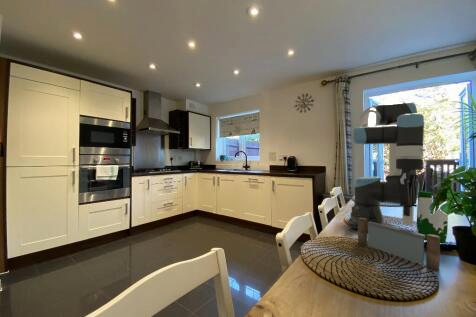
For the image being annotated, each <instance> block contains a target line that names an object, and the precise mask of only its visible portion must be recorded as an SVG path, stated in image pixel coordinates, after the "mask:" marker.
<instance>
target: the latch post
mask: <svg viewBox="0 0 476 317" xmlns="http://www.w3.org/2000/svg"><path fill="white" fill-rule="evenodd" d="M425 254H426V255H425V258H426V259H425V261H426V262H425V264H426V265H425V267H426V269H428V270H430V271H434V272H440V265H441V263H440V262H441V261H440V260H441V259H440V258H441V257H440V256H441V247H440V237H439V236H437V235H432V234H427V244H426V253H425Z"/></svg>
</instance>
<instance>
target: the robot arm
mask: <svg viewBox="0 0 476 317" xmlns="http://www.w3.org/2000/svg"><path fill="white" fill-rule="evenodd" d="M417 109H418V108H417V106H416V104H415V102H413V101H400V102H390V103H378V104H375V105H373V106H370V107H367V109H365V110H364V111H362V113H361V115H360V116H359V122H360V125H359V126H356V127H354V128H353V130H352V137H353V138H352V140H353V144H355V145H387V144H388V146H389V147H388V149H389V152H388V153H389V155H388V156H389V157H388V158H389V159H388V163H389V164H388V168H389V169H388V170H389V171H388V174H387V175H385V179H382V178H381V176H362V177H357V178H356V179H355V180H354V187H353V188H354V200H353V201H354V205H353V206H355V205H356V206H357V207H358V208H359V218H365V219H367V222H369V221H371V222H375V223H379V224H382V223H385V220H384V219H385V218H384V215H383V213H382V212H383V211H382V209H381V203H384V204H395V205H399V206H401V207H402V221H401V222H402V223H401V224H402V225H405V226H411V227H413V226H414V216H415V215H414V210H415V208H417V202H418V195H419V191H420V177H418V174H417V171H419V170H420V171H421V170H423V169H424V160H423V159H422V158H423V157H424V152H425V151H426V149H425V148H424V135H425V134H424V132H425V129H424V128H425V117H424V115H423V114H421V113H418V110H417ZM414 207H415V208H414ZM351 213H352V211H351V212H350V218H351ZM350 218H349V219H350Z"/></svg>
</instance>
